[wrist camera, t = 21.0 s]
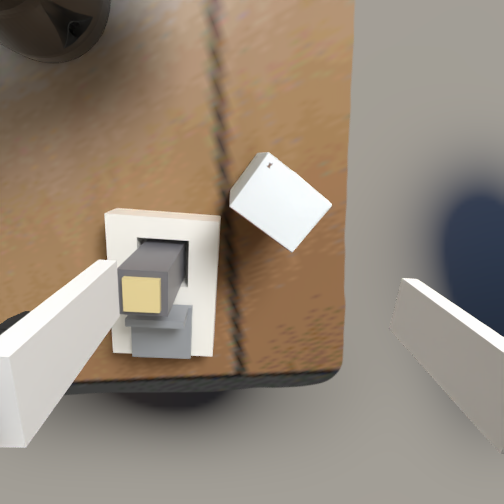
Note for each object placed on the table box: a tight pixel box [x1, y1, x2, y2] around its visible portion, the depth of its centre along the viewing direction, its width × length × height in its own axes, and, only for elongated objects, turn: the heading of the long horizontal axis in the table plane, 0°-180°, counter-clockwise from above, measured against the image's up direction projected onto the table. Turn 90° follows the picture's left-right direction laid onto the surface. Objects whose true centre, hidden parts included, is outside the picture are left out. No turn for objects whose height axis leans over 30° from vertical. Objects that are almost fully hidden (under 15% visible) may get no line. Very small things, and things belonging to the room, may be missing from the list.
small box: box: [229, 152, 332, 253], centre depth 35 cm, size 8×6×13 cm
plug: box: [117, 238, 186, 317], centre depth 36 cm, size 5×5×13 cm
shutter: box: [125, 304, 193, 359], centre depth 40 cm, size 8×8×4 cm
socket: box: [104, 208, 221, 356], centre depth 42 cm, size 20×14×4 cm
